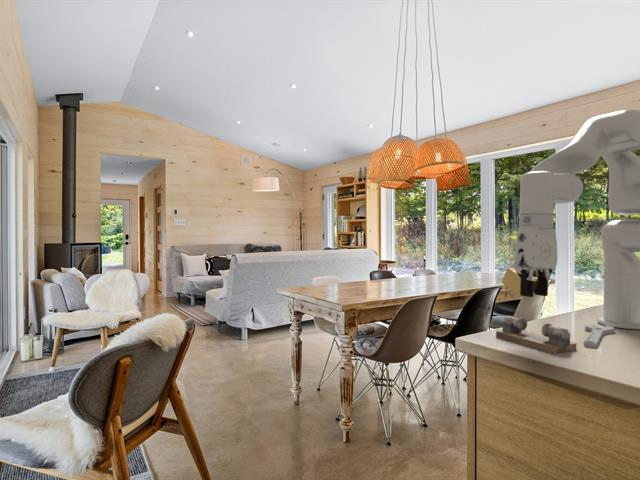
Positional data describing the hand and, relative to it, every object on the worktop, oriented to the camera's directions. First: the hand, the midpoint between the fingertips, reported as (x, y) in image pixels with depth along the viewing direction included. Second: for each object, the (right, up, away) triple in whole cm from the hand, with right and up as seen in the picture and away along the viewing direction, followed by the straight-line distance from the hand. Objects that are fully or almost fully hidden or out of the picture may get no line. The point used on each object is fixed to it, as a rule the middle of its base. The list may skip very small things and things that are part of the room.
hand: (533, 295), depth 100 cm
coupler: (0, +1, +1) cm, 2 cm away
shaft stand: (0, -12, 0) cm, 12 cm away
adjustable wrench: (+19, -13, +7) cm, 24 cm away
